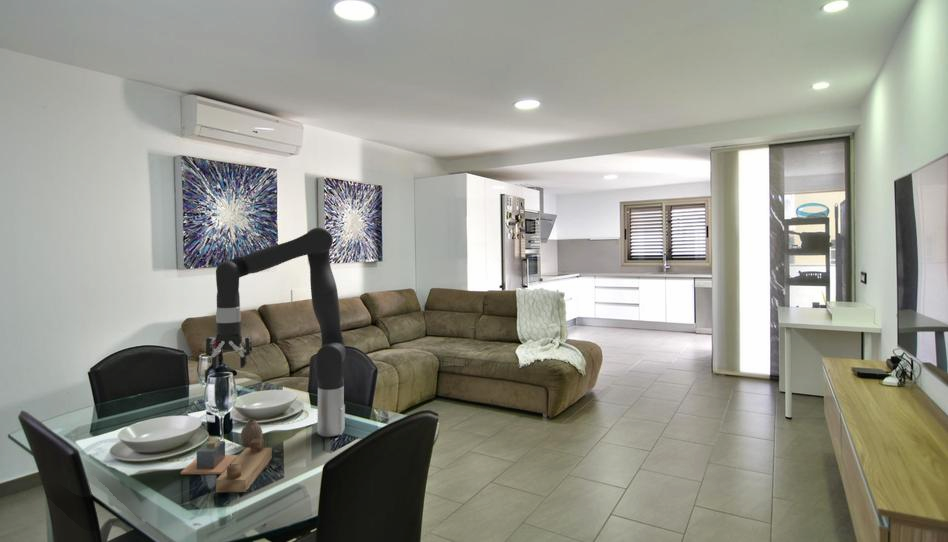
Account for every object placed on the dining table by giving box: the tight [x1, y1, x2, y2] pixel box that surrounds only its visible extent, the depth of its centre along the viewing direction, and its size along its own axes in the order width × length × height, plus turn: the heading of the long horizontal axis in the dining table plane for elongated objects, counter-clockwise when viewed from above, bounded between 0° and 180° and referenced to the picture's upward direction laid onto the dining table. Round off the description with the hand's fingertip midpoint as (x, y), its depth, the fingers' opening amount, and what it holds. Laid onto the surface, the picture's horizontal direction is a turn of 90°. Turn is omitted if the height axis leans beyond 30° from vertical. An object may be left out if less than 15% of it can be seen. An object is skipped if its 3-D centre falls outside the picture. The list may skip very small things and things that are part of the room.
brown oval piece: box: [239, 419, 263, 448], centre depth 172 cm, size 7×7×9 cm
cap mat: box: [180, 454, 239, 475], centre depth 157 cm, size 12×12×1 cm
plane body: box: [215, 438, 273, 493], centre depth 151 cm, size 8×22×6 cm, turn 4°
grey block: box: [196, 438, 226, 469], centre depth 156 cm, size 5×8×6 cm, turn 4°
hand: (229, 367), depth 171 cm, fingers open, 8 cm apart
